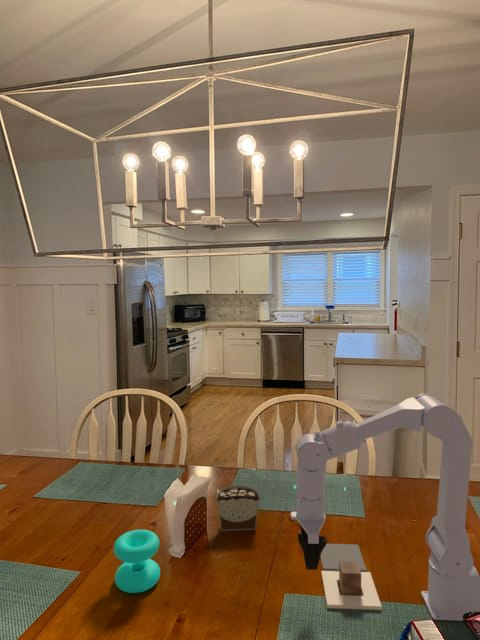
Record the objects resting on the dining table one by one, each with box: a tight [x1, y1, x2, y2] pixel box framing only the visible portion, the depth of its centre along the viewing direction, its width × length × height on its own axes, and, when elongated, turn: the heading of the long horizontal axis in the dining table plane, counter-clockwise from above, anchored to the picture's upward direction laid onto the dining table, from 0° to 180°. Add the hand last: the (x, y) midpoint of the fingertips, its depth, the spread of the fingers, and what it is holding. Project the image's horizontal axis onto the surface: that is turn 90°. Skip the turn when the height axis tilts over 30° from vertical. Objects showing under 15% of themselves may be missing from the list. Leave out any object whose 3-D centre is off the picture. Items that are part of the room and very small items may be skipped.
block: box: [338, 561, 362, 596], centre depth 101 cm, size 4×4×6 cm
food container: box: [215, 484, 262, 532], centre depth 128 cm, size 12×6×10 cm, turn 92°
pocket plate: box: [321, 570, 383, 611], centre depth 101 cm, size 11×11×1 cm
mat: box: [320, 543, 367, 572], centre depth 113 cm, size 10×10×1 cm
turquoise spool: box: [113, 529, 161, 594], centre depth 105 cm, size 10×10×10 cm
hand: (310, 556), depth 97 cm, fingers open, 7 cm apart
